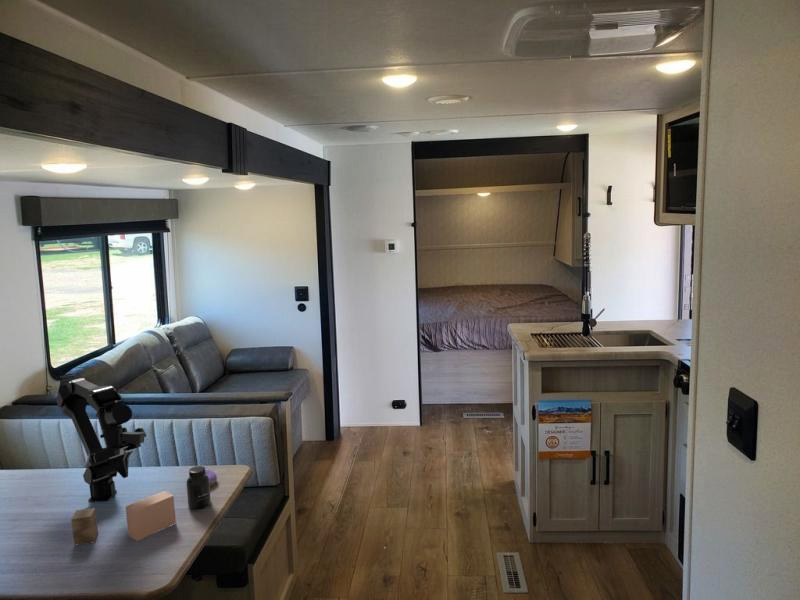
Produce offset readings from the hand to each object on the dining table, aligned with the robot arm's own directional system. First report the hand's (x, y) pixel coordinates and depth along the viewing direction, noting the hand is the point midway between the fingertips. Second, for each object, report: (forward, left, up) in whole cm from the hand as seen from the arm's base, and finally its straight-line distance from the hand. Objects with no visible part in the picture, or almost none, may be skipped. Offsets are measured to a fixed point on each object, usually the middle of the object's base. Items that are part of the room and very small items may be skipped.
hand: (125, 477), depth 187 cm
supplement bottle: (+20, +5, -12) cm, 24 cm away
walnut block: (-6, -14, -12) cm, 19 cm away
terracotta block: (+11, -9, -12) cm, 18 cm away
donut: (+16, +19, -13) cm, 28 cm away
